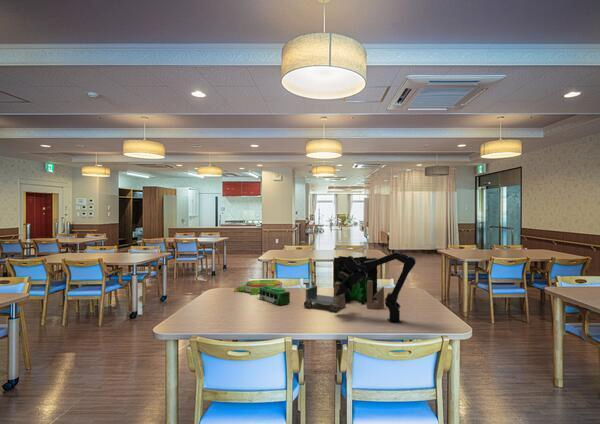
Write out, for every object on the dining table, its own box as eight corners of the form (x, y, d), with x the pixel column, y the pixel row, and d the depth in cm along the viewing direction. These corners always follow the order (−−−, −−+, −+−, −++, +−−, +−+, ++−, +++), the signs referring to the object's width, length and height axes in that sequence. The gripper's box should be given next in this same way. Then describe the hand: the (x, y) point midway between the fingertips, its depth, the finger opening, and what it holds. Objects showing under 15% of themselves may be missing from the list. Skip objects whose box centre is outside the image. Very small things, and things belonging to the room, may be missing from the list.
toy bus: (272, 297, 266) (272, 283, 266) (290, 305, 243) (290, 290, 243) (258, 299, 261) (258, 285, 261) (275, 307, 237) (275, 292, 238)
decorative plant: (352, 306, 239) (352, 261, 239) (326, 297, 265) (326, 256, 265) (384, 301, 254) (384, 258, 254) (357, 293, 279) (357, 254, 280)
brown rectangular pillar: (344, 305, 220) (344, 282, 220) (342, 307, 215) (342, 284, 215) (336, 305, 221) (336, 282, 222) (334, 306, 217) (334, 283, 217)
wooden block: (383, 309, 232) (383, 281, 232) (367, 308, 233) (367, 281, 233) (383, 307, 236) (383, 280, 236) (366, 307, 237) (366, 280, 237)
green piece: (235, 288, 300) (235, 279, 300) (281, 287, 303) (281, 278, 303) (232, 296, 271) (232, 286, 271) (282, 295, 274) (282, 285, 274)
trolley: (346, 306, 238) (346, 288, 238) (336, 312, 223) (336, 293, 223) (315, 302, 249) (315, 285, 249) (303, 308, 234) (303, 289, 235)
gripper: (349, 265, 226) (333, 281, 230) (341, 269, 208) (323, 287, 212) (362, 278, 223) (345, 295, 227) (355, 284, 205) (336, 301, 209)
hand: (337, 294), depth 219 cm, fingers closed on brown rectangular pillar, 5 cm apart
